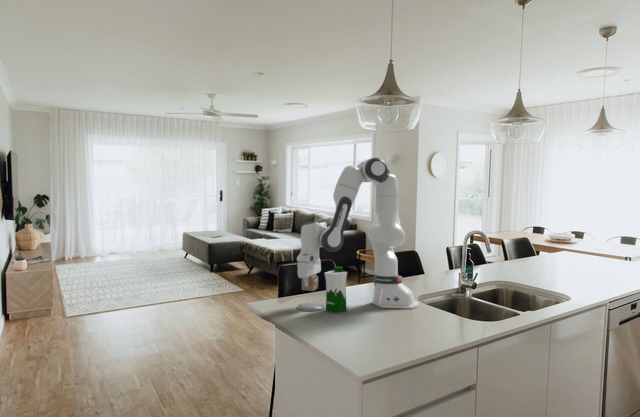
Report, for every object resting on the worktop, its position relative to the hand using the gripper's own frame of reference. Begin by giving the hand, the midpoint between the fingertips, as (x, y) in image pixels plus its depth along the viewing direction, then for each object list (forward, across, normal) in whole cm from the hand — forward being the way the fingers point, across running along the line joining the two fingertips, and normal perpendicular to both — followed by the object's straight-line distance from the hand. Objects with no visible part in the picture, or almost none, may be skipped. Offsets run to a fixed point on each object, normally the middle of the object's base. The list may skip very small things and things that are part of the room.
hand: (309, 284), depth 199 cm
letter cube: (+2, 0, 0) cm, 2 cm away
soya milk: (+11, +1, +13) cm, 17 cm away
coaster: (+11, 0, 0) cm, 11 cm away
